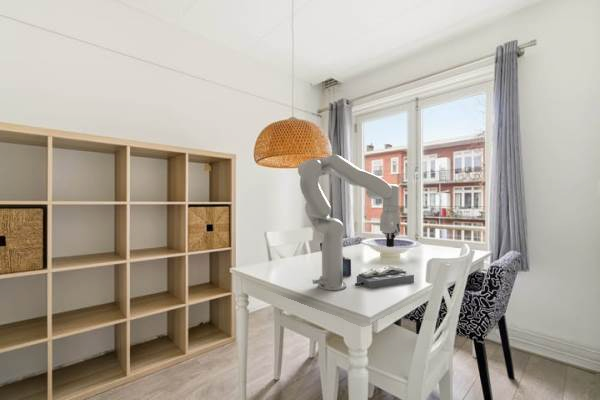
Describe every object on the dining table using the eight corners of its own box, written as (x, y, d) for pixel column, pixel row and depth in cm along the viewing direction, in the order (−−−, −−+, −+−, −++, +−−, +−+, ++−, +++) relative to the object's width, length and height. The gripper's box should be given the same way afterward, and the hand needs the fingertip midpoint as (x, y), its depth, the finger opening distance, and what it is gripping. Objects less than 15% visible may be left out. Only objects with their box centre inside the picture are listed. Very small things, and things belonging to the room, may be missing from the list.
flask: (333, 275, 146) (333, 255, 146) (334, 273, 148) (334, 254, 148) (350, 276, 143) (350, 256, 143) (351, 275, 145) (351, 255, 145)
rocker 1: (366, 276, 128) (365, 274, 128) (361, 274, 131) (361, 272, 131) (376, 272, 130) (376, 269, 130) (371, 270, 134) (371, 267, 134)
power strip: (362, 290, 121) (362, 280, 121) (349, 284, 130) (349, 275, 130) (414, 281, 133) (413, 273, 133) (399, 276, 142) (398, 268, 142)
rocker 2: (380, 274, 131) (379, 272, 131) (375, 273, 135) (374, 270, 134) (390, 270, 134) (389, 267, 133) (384, 268, 137) (384, 266, 137)
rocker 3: (393, 269, 134) (393, 267, 134) (388, 268, 138) (388, 265, 138) (402, 271, 137) (403, 269, 137) (397, 270, 140) (397, 267, 140)
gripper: (374, 209, 141) (374, 244, 141) (395, 210, 128) (394, 249, 128) (386, 209, 144) (385, 244, 144) (407, 210, 131) (407, 248, 131)
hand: (390, 246), depth 136 cm, fingers closed
